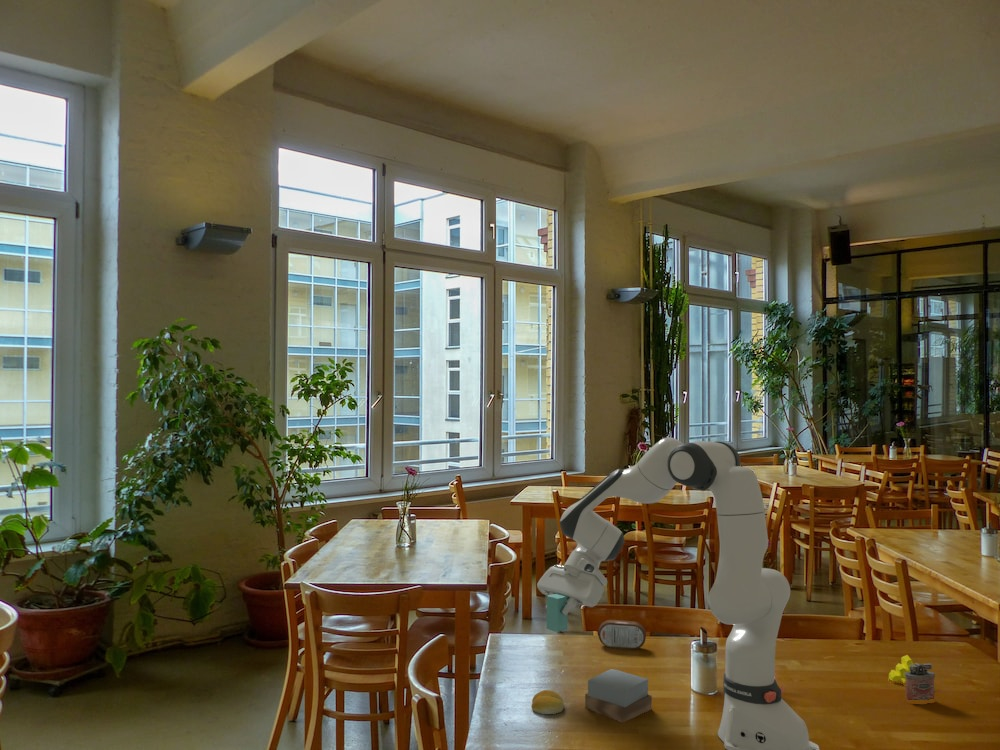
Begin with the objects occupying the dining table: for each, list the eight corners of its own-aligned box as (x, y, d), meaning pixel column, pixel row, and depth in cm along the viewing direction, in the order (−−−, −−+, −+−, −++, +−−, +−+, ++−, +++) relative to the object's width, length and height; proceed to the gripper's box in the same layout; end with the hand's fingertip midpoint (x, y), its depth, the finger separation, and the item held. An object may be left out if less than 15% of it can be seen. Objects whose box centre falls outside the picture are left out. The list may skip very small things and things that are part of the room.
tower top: (647, 694, 199) (647, 679, 199) (624, 707, 191) (624, 691, 191) (611, 683, 207) (611, 668, 207) (587, 695, 198) (588, 679, 198)
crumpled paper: (884, 679, 222) (884, 651, 222) (909, 677, 223) (909, 650, 223) (897, 686, 216) (897, 658, 216) (923, 685, 217) (923, 657, 217)
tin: (645, 647, 246) (646, 621, 246) (646, 651, 243) (646, 624, 243) (598, 644, 249) (598, 618, 249) (597, 647, 246) (597, 621, 246)
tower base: (651, 711, 199) (651, 695, 199) (622, 724, 190) (622, 708, 190) (614, 697, 207) (614, 682, 207) (585, 709, 199) (585, 693, 199)
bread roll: (531, 715, 195) (531, 699, 195) (532, 701, 204) (532, 686, 204) (564, 717, 194) (564, 701, 194) (564, 702, 203) (564, 687, 203)
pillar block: (567, 629, 212) (567, 596, 212) (557, 632, 209) (557, 598, 210) (556, 625, 215) (556, 593, 215) (546, 628, 212) (546, 595, 213)
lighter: (910, 705, 203) (910, 666, 203) (901, 700, 206) (901, 662, 207) (938, 703, 204) (938, 665, 205) (929, 698, 208) (929, 661, 208)
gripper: (547, 557, 225) (523, 596, 218) (602, 569, 210) (577, 612, 203) (557, 570, 228) (534, 609, 221) (612, 583, 213) (588, 626, 206)
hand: (555, 611), depth 212 cm, fingers closed on pillar block, 4 cm apart
